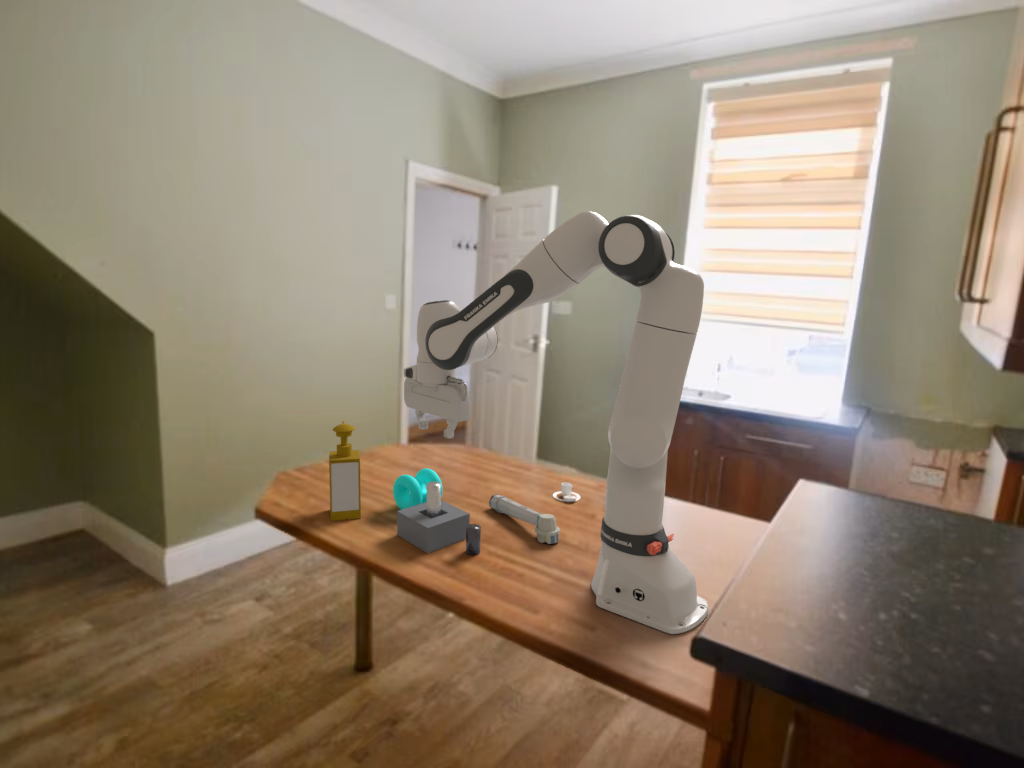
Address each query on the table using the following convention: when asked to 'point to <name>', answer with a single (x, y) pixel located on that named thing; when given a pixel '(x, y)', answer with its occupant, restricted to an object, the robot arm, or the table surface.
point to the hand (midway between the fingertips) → (435, 433)
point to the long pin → (433, 499)
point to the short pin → (473, 539)
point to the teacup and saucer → (567, 493)
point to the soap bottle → (344, 477)
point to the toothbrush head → (528, 518)
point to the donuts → (413, 488)
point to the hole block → (432, 526)
